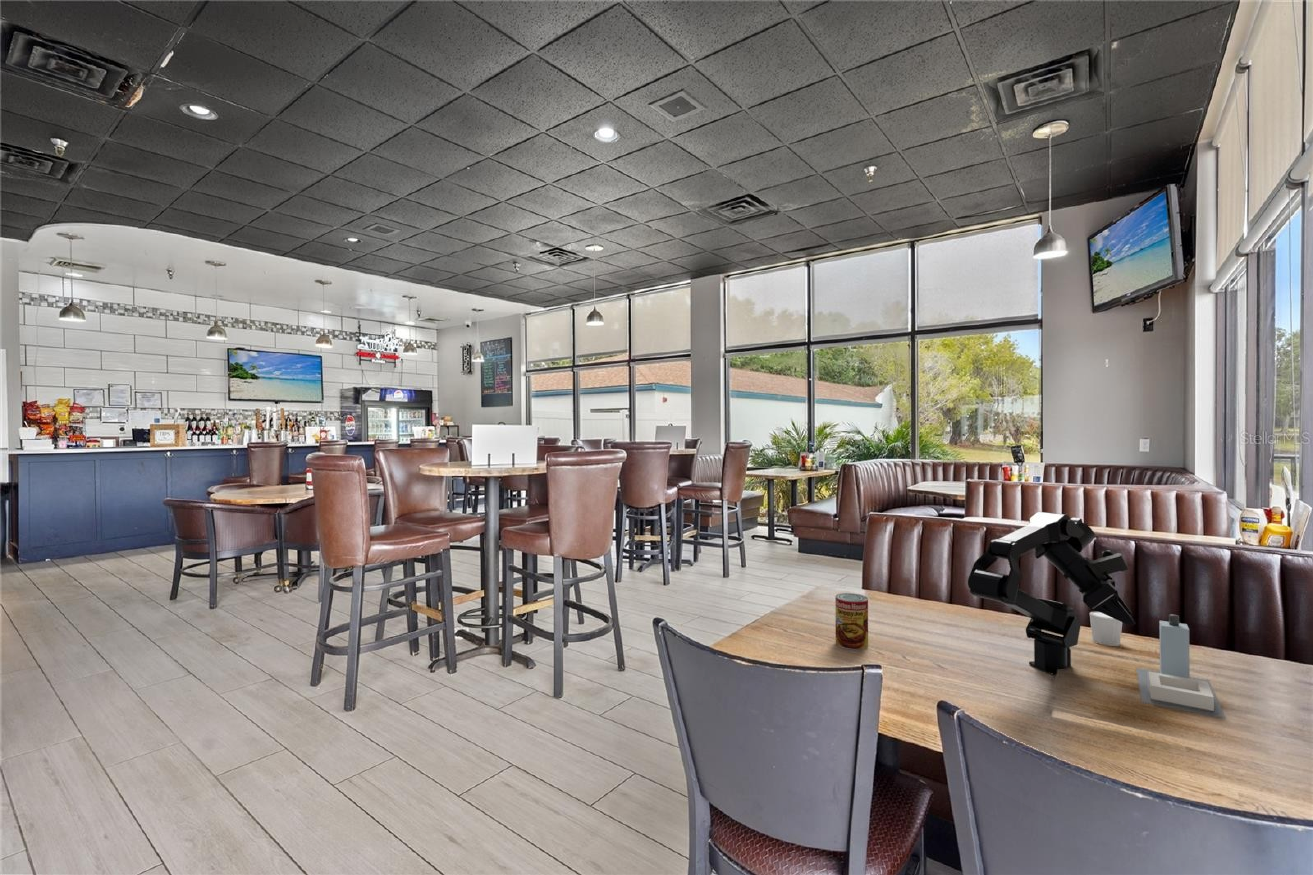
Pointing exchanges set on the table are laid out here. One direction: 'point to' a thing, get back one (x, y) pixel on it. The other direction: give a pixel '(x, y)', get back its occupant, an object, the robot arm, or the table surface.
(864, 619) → the canned food
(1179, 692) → the socket
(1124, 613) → the robot arm
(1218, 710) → the board
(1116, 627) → the white cup
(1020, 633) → the table surface
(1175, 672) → the plug
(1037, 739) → the table surface
